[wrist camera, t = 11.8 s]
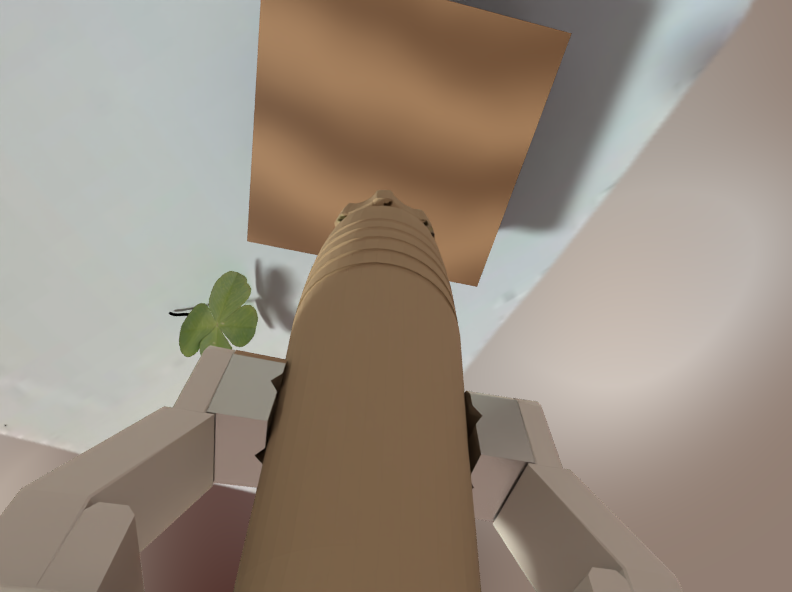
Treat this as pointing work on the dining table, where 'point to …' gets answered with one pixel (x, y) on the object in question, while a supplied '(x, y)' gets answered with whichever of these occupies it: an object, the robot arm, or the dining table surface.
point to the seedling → (220, 317)
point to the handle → (368, 423)
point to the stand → (394, 117)
